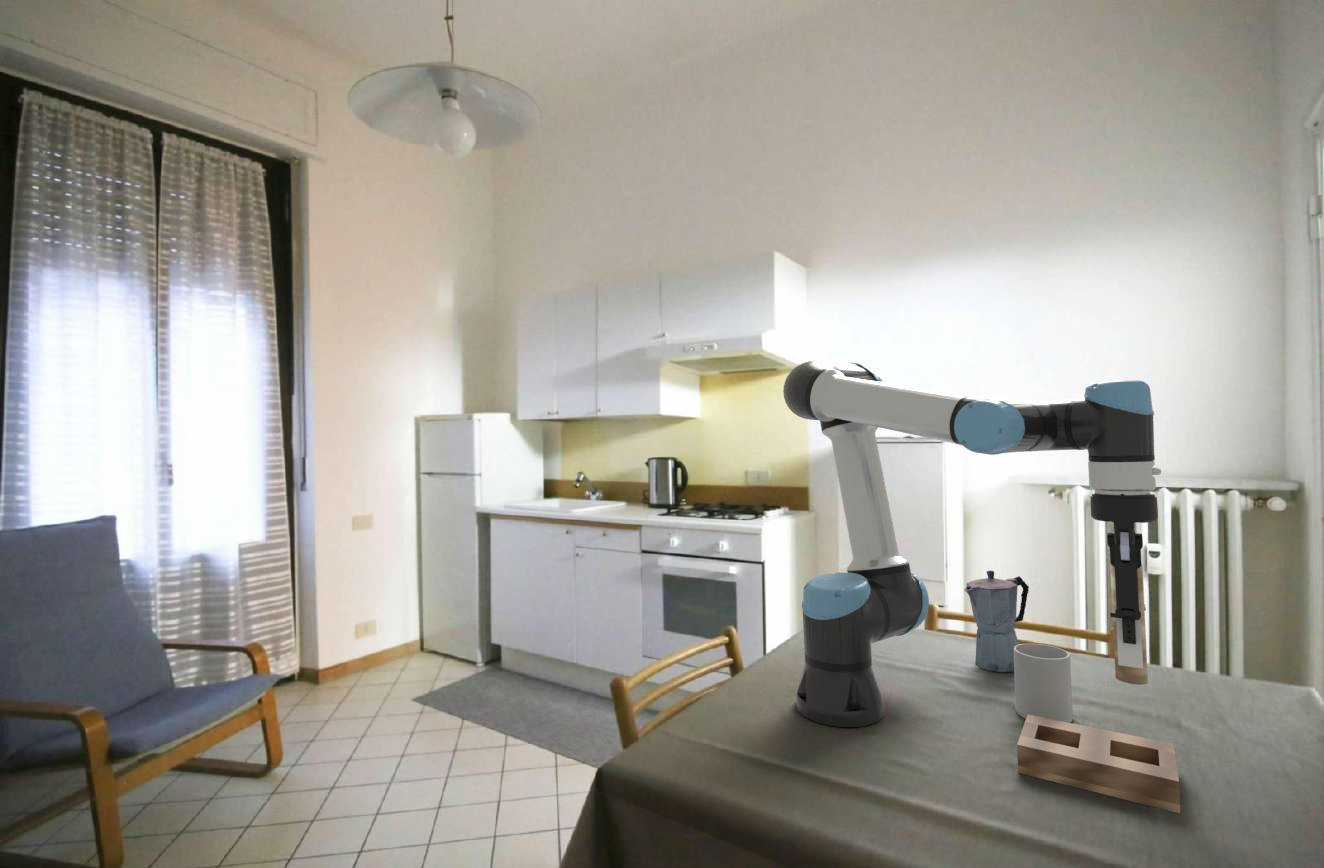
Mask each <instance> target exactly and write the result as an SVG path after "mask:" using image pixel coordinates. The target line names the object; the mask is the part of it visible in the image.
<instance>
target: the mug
mask: <svg viewBox="0 0 1324 868" xmlns="http://www.w3.org/2000/svg"><path fill="white" fill-rule="evenodd" d="M1071 663H1072V661H1071V655H1070V653H1069V652H1068V651H1067V650H1064V649H1062V648H1059V647H1057V646H1053V645H1048V644H1040V643H1021V644H1019V645H1017V646H1015V647H1014V672H1013V673H1014V707H1015V711H1016V713H1017V715H1019V716H1020V717H1021V718H1023V719H1025V720H1026V718H1027V715H1028V714H1029V715H1034V716H1038V717H1043V718H1048V719H1053V720H1058V721H1063V722H1068V723H1072V722H1073V720H1074V711H1073V694H1072V693H1073V692H1072V687H1073V686H1072V666H1071V665H1072V664H1071Z"/></svg>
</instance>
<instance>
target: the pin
mask: <svg viewBox="0 0 1324 868" xmlns="http://www.w3.org/2000/svg"><path fill="white" fill-rule="evenodd" d="M1109 565H1110V566H1109V567H1110V585H1111V588H1110V589H1111V605H1112V606H1111V607H1112V608H1111V609H1112V613H1115V609H1117V607H1116V586H1115V567H1114V566H1112V565H1111V563H1110V564H1109ZM1143 569H1144V568H1143V564H1142V563H1141V567H1140V568H1138V569H1137V575H1138V596H1139V611H1140V612H1141V618H1140V619H1141V634H1142V654H1143V669H1142V668H1135V667H1128V666H1121V665H1118V647H1117V626H1116V618H1114V617H1112V627H1113V629H1112V630H1113V650H1114V651H1113V652H1114V654H1113V655H1114V670H1115V671H1114V672H1115V673H1114V674H1115V679H1116V680H1118V681H1120V682H1123V683H1127V684H1131V685H1147V684H1148V683H1149V676H1148V675H1149V674H1148V654H1147V635H1146V631H1147V630H1146V616H1145V615H1146V611H1145V609H1146V608H1145V609H1144V605H1145V595H1144V593H1145V592H1144V571H1143Z"/></svg>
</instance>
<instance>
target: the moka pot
mask: <svg viewBox="0 0 1324 868" xmlns="http://www.w3.org/2000/svg"><path fill="white" fill-rule="evenodd" d="M986 575H987V578H985V577H984V578H978V579H974V580H971V581H969V582H966V586H965V588H964V592H966V593H967V595H968V597H969V602H970V605H971V610H972V615H973V616H972V617H973V618H974V619H975V624H976V628H977V629H976V638H975V639H976V643H975V644H976V645H975V664H976V665H977V666H978V667H980V668H981V669H983V670H986V671H989V672H996V673H1014V647H1015V646H1017V645H1020V644H1019V640H1018V637H1017V632H1016V630H1015V629H1016V626H1015V623H1019V622H1022V621H1024V615H1025V610H1026V606H1027V600H1028V599H1027V598H1028V594H1029V585H1028V584H1027V583H1026V581H1024V580H1023V578H1022V577H1021V576H1016V577H1014V578H1013V577H1012V578H1006V579H1000V578H995V571H994V570H986ZM1019 586H1021V588H1022V592H1021V593H1020V595H1021V596H1020V597H1021V601H1020V609H1019V613H1018V614H1017V610H1018V609H1017V606H1018V605H1017V603H1018V587H1019Z"/></svg>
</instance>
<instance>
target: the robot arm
mask: <svg viewBox="0 0 1324 868" xmlns="http://www.w3.org/2000/svg"><path fill="white" fill-rule="evenodd" d="M1084 391H1085V392H1084V395H1083V396H1084V397H1080V398H1074V399H1062V400H1061V399H1060V400H1059V399H1058V400H1043V401H1041V400H1037V401H1036V400H1011V399H1010V400H1009V399H998V398H993V397H991V398H990V397H986V396H985V397H984V396H978V395H970V394H962V393H956V392H948V391H942V390H937V389H930V388H923V387H916V386H909V385H902V384H896V383H890V382H885V381H884V379H883V377H882V375H881V374H880V373H879V372H878V371H876V370H875V369H874V368H872V367H870V366H868V365H864V364H860V363H857V362H835V361H824V360H812V361H811V360H810V361H806V362H802V363H800V364H799V365H797V366H796V367H794V368H793V369H792V370H791V371H790V372H789V373H788V375H787V376H786V378H785V381H784V384H783V391H782V392H783V399H784V401H785V404H786V406H787V408H788V409H789V410H790V411H791V412H792V413H793V414H794V415H796V416H797V417H799V418H802V419H805V420H810V421H819V423H820V430H821V434H822V435H823V436H825V437H827V438H828V439H829V440H830V441H831V445H832V451H833V457H834V463H835V467H836V474H837V478H838V485H839V490H840V495H841V499H842V505H843V511H844V516H845V523H846V528H847V533H848V538H849V544H850V550H851V555H852V559H851V562H850V563H849V565H847V567H846V572H845V571H844V572H835V573H824V574H821V575H817V576H815V577H813V578H811V579H809V580H808V581H807V582H806V583H805V584H804V587H803V591H802V602H801V603H802V604H801V609H802V622H803V623H802V625H803V627H802V628H803V644H804V645H803V646H804V647H803V648H804V649H803V650H804V667H803V670H802V673H801V677H800V678H799V683H798V686H797V689H796V692H795V693H796V694H795V700H796V701H795V703H796V706H795V707H796V710H797V711H798V713H800V715H802V716H803V717H805V718H806V719H808V720H810V721H812V722H815V723H819V724H822V725H825V726H831V727H839V728H860V727H861V728H862V727H867V726H870V725H873V724H876V723H878V722H879V721H881V720H882V719H883V718H884V715H885V706H884V705H885V704H884V698H883V696H882V692H881V690H880V687H879V685H878V681H877V679H876V675H875V672H874V670H873V663H872V660H873V659H872V644H873V643H874V644H875V643H877V642H880V641H883V640H887V639H890V638H893V637H901V636H903V635H906V634H908V633H910V632H911V631H913V630H915V629H917V628H919V627H920V626H921V625H922V624H923V622H924V621H925V620H926V617H927V615H928V613H929V612H928V611H929V607H930V606H929V605H930V599H929V593H928V590H927V587H926V585H925V584H924V582H923V580H920V579H919V577H918V575H917V574H915V573H914V572H912V571H911V566H910V561H909V560H908V559H906V558H905V557H904V556H902V555H901V554H900V552H899V549H898V544H897V537H896V534H895V529H894V528H895V527H894V523H893V522H894V521H893V518H892V512H891V508H890V502H889V498H888V493H887V489H886V488H887V486H886V482H885V477H884V471H883V466H882V462H881V456H880V451H879V446H878V441H877V436H876V432H877V430H878V428H880V429H886V430H890V431H894V432H899V433H903V434H909V435H913V436H918V437H922V438H928V439H932V440H936V441H942V442H946V443H951V444H956V445H960V446H962V447H964V448H965V449H966V450H968V451H970V452H973V453H976V454H983V455H992V456H995V455H1000V454H1008V453H1019V452H1021V453H1023V452H1026V453H1027V452H1030V453H1031V452H1041V451H1043V452H1045V451H1072V450H1073V451H1075V450H1077V451H1084V450H1085V451H1086V450H1087V452H1088V453H1087V454H1088V457H1087V458H1088V461H1087V464H1088V465H1087V466H1088V484H1089V485H1088V486H1089V488H1090V489H1091V490H1093V491H1094V492H1093V493H1091V495H1090V496H1089V499H1090V500H1089V501H1090V517H1091V518H1092V519H1094V520H1096V521H1099V522H1111V523H1113V531H1107V535H1106V537H1107V538H1106V540H1107V546H1108V547H1109V559H1110V563H1111V565H1112V566H1114V567H1115V586H1116V607H1117V609H1115V613H1113V612H1110V618H1113V617H1114V618H1116V626H1117V647H1118V665H1121V666H1128V667H1135V668H1142V669H1143V654H1142V634H1141V619H1140V618H1141V612H1140V611H1139V596H1138V575H1137V569H1138V568H1140V567H1141V564H1142V549H1143V546H1144V543H1143V533H1139V532H1136V531H1135V524H1136V523H1139V524H1140V523H1142V524H1144V523H1146V524H1147V523H1153V522H1156V521H1157V520H1158V518H1159V515H1158V514H1159V513H1158V496H1156V494H1155V493H1151V491H1154V490H1155V489H1157V485H1156V481H1157V480H1156V477H1155V476H1160V475H1161V474H1162V469H1161V467H1154V466H1156V465H1155V464H1156V463H1155V457H1156V456H1155V435H1154V434H1155V431H1154V429H1155V428H1154V427H1155V426H1154V416H1155V411H1154V410H1153V403H1152V395H1151V393H1152V392H1151V388H1150V386H1149V384H1148V383H1146V382H1145V381H1143V380H1137V379H1136V380H1132V379H1131V380H1127V379H1126V380H1114V381H1112V380H1111V381H1102V382H1094V383H1090V384H1088V385H1087V386H1086V387H1085V390H1084ZM1144 609H1145V612H1146V604H1144Z"/></svg>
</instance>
